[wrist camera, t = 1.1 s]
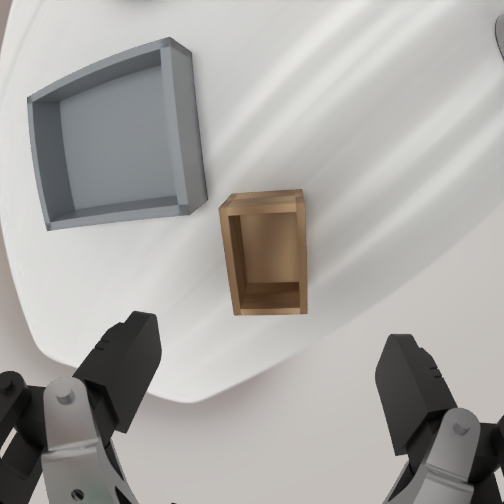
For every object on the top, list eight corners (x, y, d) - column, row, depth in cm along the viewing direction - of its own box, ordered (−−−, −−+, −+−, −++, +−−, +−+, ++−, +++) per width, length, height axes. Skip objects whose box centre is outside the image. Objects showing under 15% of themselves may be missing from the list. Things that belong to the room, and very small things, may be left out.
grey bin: (191, 52, 21) (169, 36, 16) (207, 199, 26) (190, 214, 21) (59, 97, 23) (27, 97, 18) (76, 215, 28) (47, 231, 24)
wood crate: (301, 189, 24) (304, 202, 20) (305, 283, 28) (307, 313, 23) (231, 193, 25) (218, 208, 21) (243, 286, 29) (234, 315, 24)
